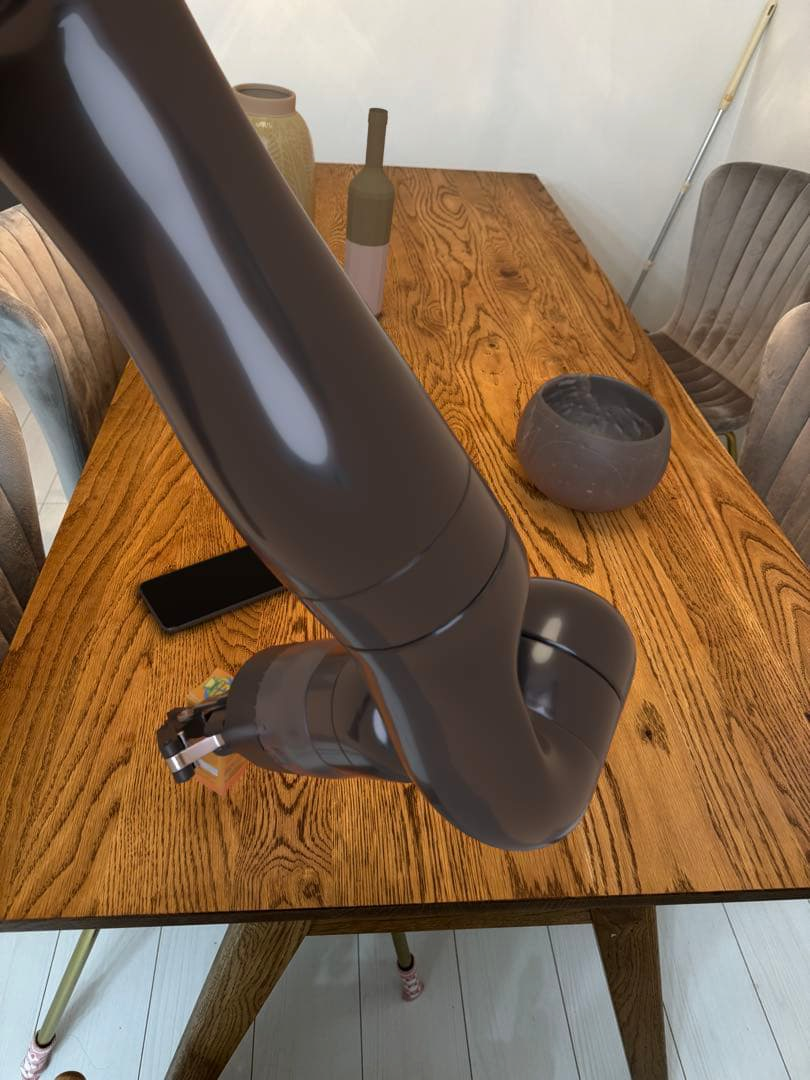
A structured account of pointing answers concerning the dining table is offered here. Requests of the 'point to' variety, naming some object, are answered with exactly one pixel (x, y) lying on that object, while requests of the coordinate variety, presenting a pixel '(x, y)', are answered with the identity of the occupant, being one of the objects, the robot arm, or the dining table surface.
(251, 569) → the smartphone
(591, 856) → the dining table surface
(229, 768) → the supplement box
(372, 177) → the bottle
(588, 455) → the bowl
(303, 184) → the vase
